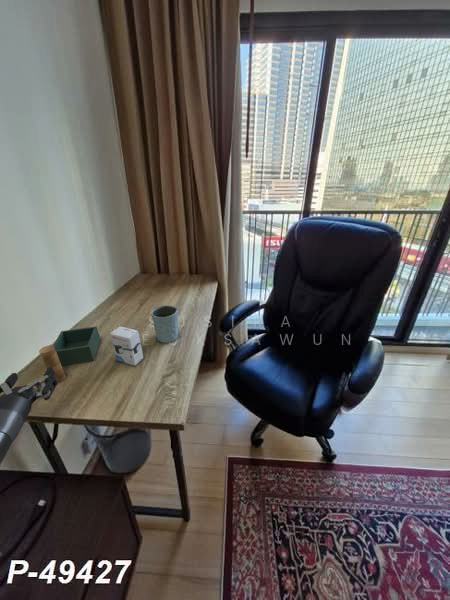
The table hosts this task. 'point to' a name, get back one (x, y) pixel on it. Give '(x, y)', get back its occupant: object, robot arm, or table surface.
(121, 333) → the ink box
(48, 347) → the wooden cylinder
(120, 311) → the table surface
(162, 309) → the blue grey cup
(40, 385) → the robot arm
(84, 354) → the bin
